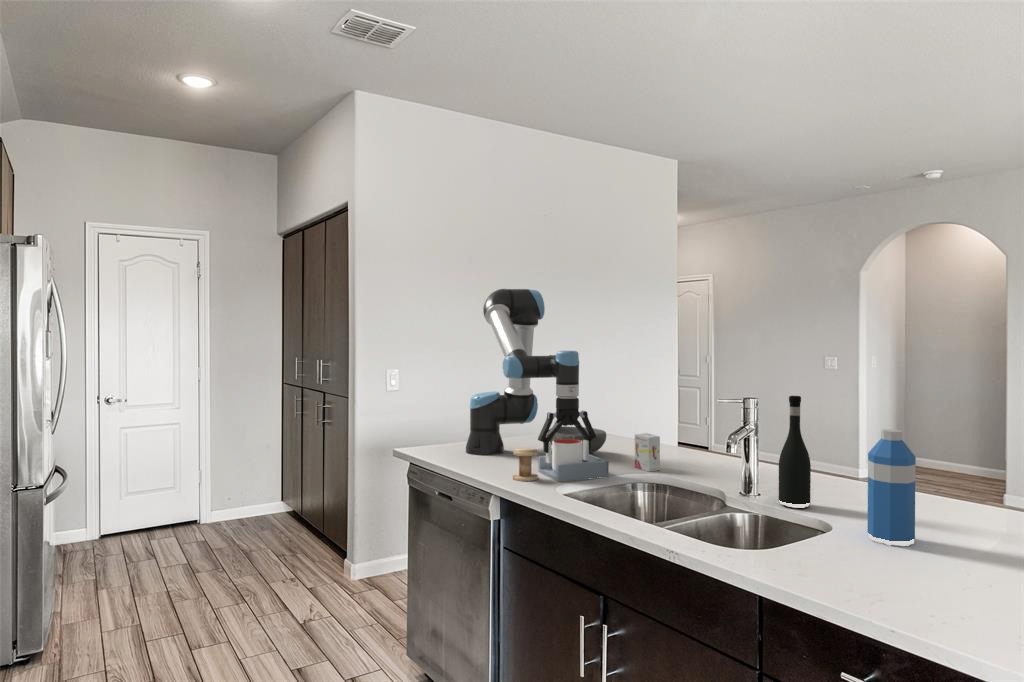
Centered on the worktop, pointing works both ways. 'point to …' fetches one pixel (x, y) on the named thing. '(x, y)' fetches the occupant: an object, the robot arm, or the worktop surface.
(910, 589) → the worktop surface
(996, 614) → the worktop surface
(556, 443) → the cup
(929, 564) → the worktop surface
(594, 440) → the bowl
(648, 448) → the ink box
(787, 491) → the wine bottle
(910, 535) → the water bottle
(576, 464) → the notch board
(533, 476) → the bobbin
